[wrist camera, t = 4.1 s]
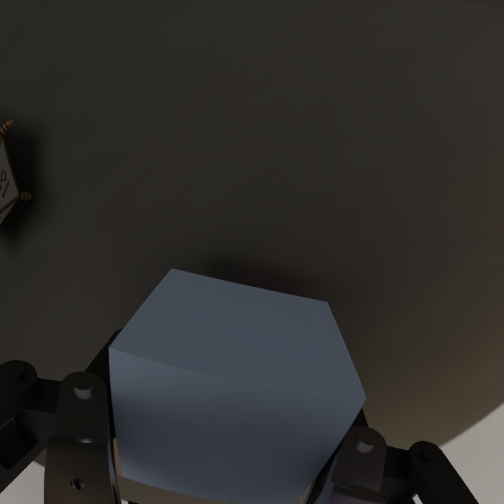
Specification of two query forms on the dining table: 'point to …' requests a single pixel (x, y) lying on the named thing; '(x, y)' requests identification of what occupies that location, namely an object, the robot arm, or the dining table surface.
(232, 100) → the dining table surface
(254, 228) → the dining table surface
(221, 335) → the blue block
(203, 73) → the dining table surface
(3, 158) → the game die
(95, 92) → the dining table surface
